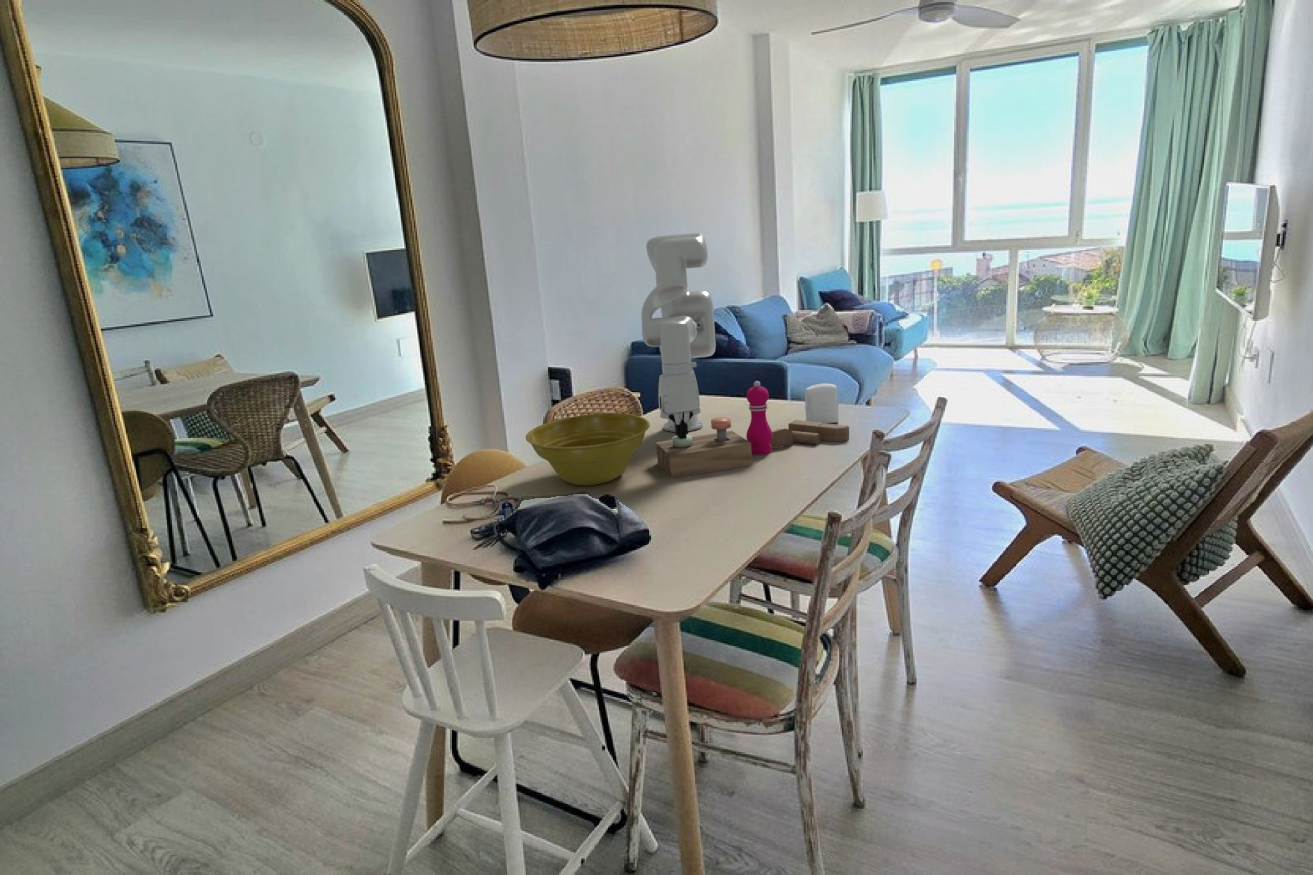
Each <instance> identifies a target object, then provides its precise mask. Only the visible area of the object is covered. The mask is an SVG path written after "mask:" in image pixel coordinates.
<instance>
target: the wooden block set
mask: <svg viewBox="0 0 1313 875" xmlns="http://www.w3.org/2000/svg"><path fill="white" fill-rule="evenodd" d="M772 435H773V438H772V440H771V442H770V443H769V444H771V449H776V447H777V448H782V447H781V446H784V447H791V446H793V445H794V443H796V442H797V443H798V444H806V445H814V446H815V445H816V446H818V445H819V444H820V442H821V441H823V440H824V441H825V442H832V443H833V442H835V443H839V442H847V441H848V440H850V427H849V426H848V425H845V424H843V425H842V424H833V423H828V424H824V423H822V422H811V421H806V420H802V419H801V420H797V419H795V420H793V421H790V422H789V423H788V428H776V429H774V430H772Z"/></svg>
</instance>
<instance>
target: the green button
mask: <svg viewBox="0 0 1313 875" xmlns="http://www.w3.org/2000/svg"><path fill="white" fill-rule="evenodd" d="M686 435H687V438H683V439H680V438H679V437H678V436H676V435H674V436H672V438H671V440H673V446H674V447H678V448H684V447H688V446H691V445H692V437H693V436H692V435H691V434H686Z"/></svg>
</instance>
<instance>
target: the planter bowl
mask: <svg viewBox="0 0 1313 875" xmlns="http://www.w3.org/2000/svg"><path fill="white" fill-rule="evenodd" d="M650 423H651V422H650V421H649V420H648V419H647V418H644V417H643V416H639V415H636V414H630V413H619V412H608V413H607V412H601V413H589V414H582V415H575V416H569V417H564V418H560V419H555V420H552V421H548V422H545V423H542V424H541V425H539V426H535V427H534V428H533V429H531V430H530V431H528V432H527V433H526V435H525V441H527V442H528V443H529V444H530V445H531V446H532V448H533V450H534V451H535V453H536V455H538V457H540V458H541V459H543V460H545V461H547V462H548V463H549V465H550V466H551V467H552V469H553V470H554V471H555V473H556V474H557V475H558V477H560V478H561V479H562V480H563V481H565V482H567V483H569V484H572V485H577V486H594V485H601V484H605V483H608V482H611V481H614V480H615V479H617V478H618V477H619V476H621V475H622V474H623V473H624V472H625V471H626V469H627V467H628V465H629V463H630V460H631V458H632V455H633V452H634V451H635V450H637V448H639V447H640V446H641V445H642V443H643V441H644V438H645V435H646V432H647V431H648V430H649V428H650V427H651V424H650Z"/></svg>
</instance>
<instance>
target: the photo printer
mask: <svg viewBox="0 0 1313 875" xmlns="http://www.w3.org/2000/svg"><path fill="white" fill-rule="evenodd" d="M804 402H805V403H804V407H805V421H811V422H822V423H824V424H833V423H838V422H839V390H838V387H837V385H835V384H832V383H817V384H813V385H811V386H809V387H807V388H805V390H804Z"/></svg>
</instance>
